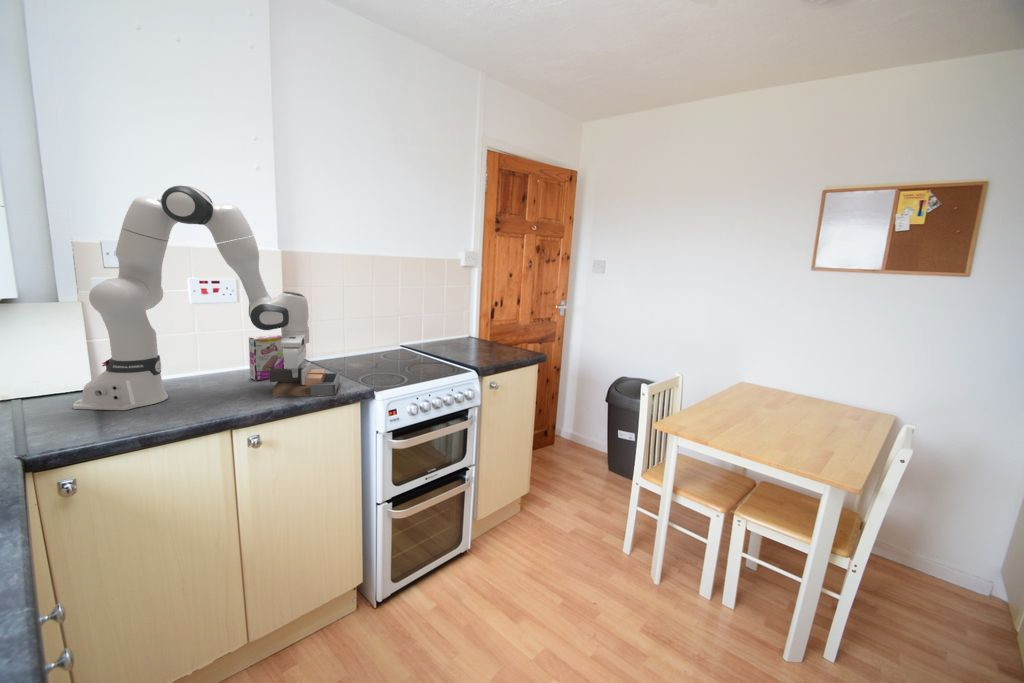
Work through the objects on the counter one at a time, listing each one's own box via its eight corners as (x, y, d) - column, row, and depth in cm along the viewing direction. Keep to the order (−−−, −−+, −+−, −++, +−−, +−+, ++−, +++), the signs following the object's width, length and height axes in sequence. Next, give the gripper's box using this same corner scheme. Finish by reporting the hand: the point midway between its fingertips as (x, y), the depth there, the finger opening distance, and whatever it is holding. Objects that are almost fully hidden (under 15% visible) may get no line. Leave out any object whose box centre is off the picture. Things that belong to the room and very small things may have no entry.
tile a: (305, 385, 155) (305, 377, 155) (307, 381, 160) (308, 373, 160) (320, 386, 157) (321, 378, 156) (322, 382, 162) (323, 374, 161)
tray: (310, 396, 155) (310, 385, 154) (317, 383, 170) (317, 373, 169) (335, 395, 157) (335, 384, 156) (339, 382, 172) (339, 372, 171)
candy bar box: (256, 381, 167) (253, 339, 164) (249, 379, 170) (247, 337, 167) (285, 376, 176) (284, 336, 173) (279, 374, 179) (277, 334, 176)
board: (272, 396, 152) (272, 388, 151) (282, 384, 166) (282, 376, 165) (310, 395, 155) (310, 387, 154) (317, 383, 169) (316, 376, 169)
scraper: (266, 385, 152) (266, 371, 151) (274, 376, 163) (274, 363, 162) (305, 384, 155) (304, 370, 154) (310, 375, 167) (310, 362, 166)
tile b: (308, 380, 162) (308, 373, 161) (310, 377, 166) (310, 369, 166) (323, 380, 163) (323, 372, 163) (325, 376, 168) (324, 369, 167)
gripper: (291, 332, 166) (292, 368, 168) (279, 343, 147) (281, 383, 149) (309, 332, 168) (310, 368, 170) (300, 343, 148) (301, 383, 151)
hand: (296, 375), depth 160 cm, fingers closed on scraper, 3 cm apart
